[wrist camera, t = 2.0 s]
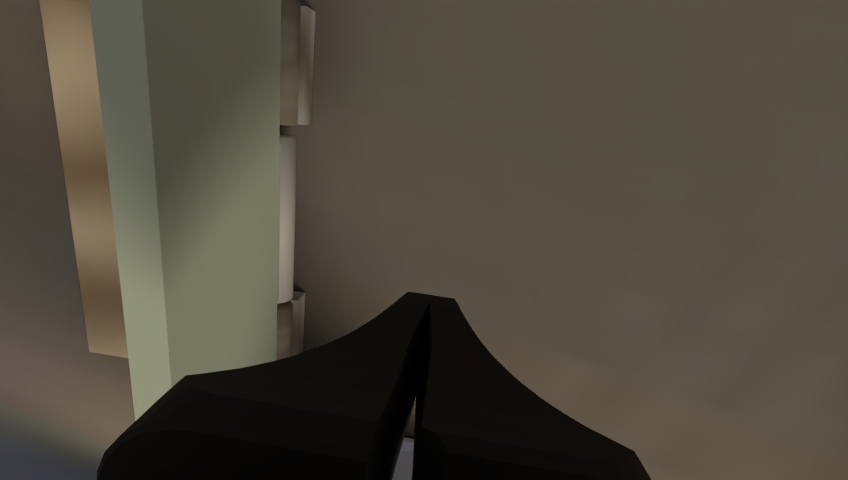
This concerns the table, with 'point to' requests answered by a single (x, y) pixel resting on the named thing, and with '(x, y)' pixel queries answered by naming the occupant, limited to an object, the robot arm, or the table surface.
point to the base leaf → (89, 173)
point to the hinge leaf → (196, 182)
